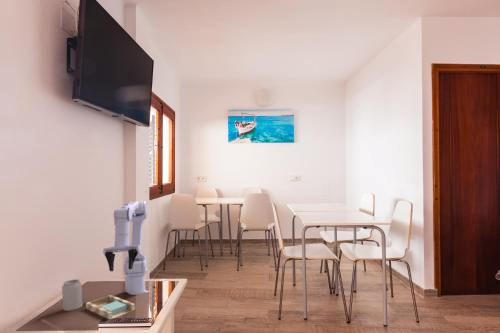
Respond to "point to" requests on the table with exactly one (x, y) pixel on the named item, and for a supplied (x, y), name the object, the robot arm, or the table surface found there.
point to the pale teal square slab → (115, 307)
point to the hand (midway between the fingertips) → (120, 270)
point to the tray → (96, 304)
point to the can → (72, 295)
